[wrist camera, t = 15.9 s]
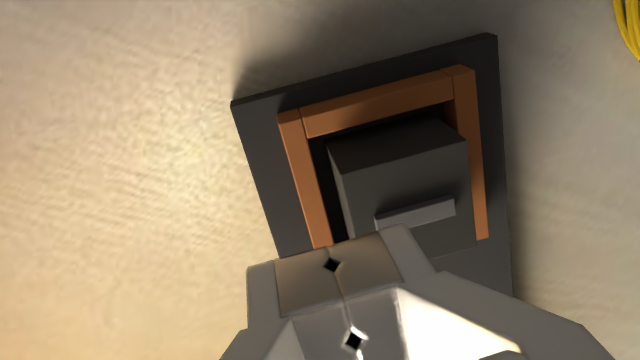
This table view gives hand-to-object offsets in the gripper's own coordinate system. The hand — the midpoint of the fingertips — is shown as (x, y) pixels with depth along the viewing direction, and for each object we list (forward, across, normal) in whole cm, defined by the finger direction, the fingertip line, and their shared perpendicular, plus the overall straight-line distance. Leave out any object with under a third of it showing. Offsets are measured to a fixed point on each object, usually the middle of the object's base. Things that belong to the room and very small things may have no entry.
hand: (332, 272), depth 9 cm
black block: (+12, -4, +5) cm, 14 cm away
